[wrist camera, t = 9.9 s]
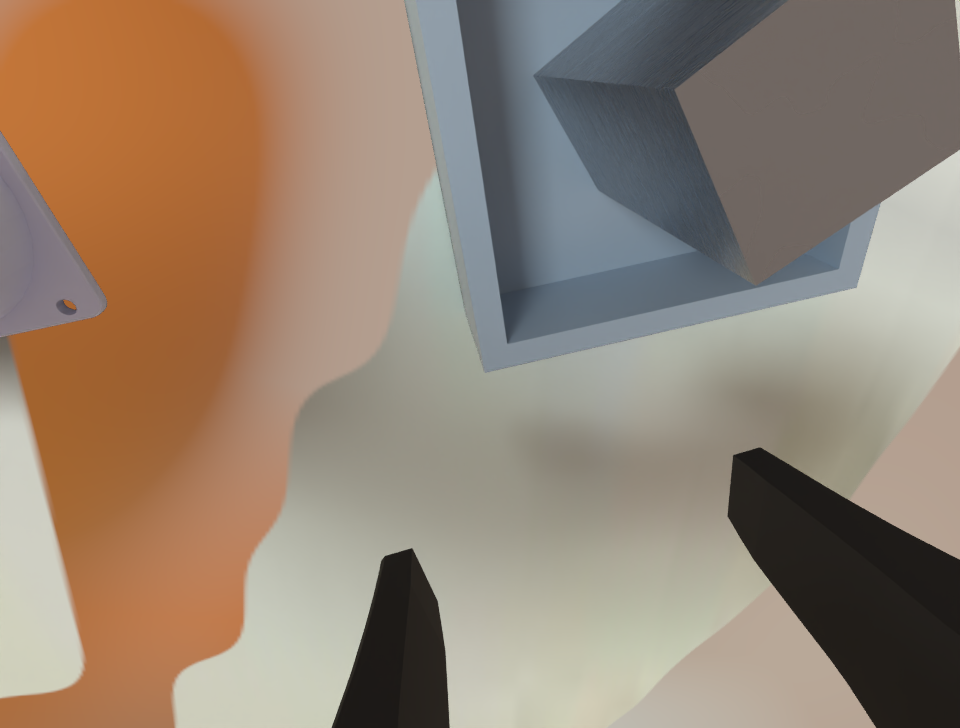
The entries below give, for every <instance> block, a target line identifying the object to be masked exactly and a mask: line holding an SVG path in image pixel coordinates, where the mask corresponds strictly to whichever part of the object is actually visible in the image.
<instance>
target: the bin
mask: <svg viewBox="0 0 960 728" xmlns="http://www.w3.org/2000/svg"><path fill="white" fill-rule="evenodd" d="M620 1H621V0H404V2H405V7H406V12H407V17H408V22H409V27H410V32H411V37H412V42H413V47H414V53H415V57H416V63H417V68H418V73H419V78H420V83H421V88H422V93H423V99H424V104H425V108H426V114H427V119H428V124H429V129H430V134H431V139H432V145H433V150H434V155H435V160H436V165H437V170H438V175H439V180H440V185H441V191H442V196H443V201H444V206H445V211H446V216H447V221H448V226H449V231H450V237H451V242H452V247H453V252H454V257H455V262H456V267H457V272H458V277H459V283H460V288H461V293H462V298H463V303H464V308H465V313H466V317H467V320H468V323H469V326H470V329H471V332H472V335H473V338H474V341H475V344H476V347H477V350H478V353H479V356H480V360H481V363H482V366H483V369H484V372H485V373H486V372H490V371H494V370H499V369H503V368H507V367H512V366H516V365H521V364H525V363H529V362H534V361H538V360H542V359H547V358H551V357H555V356H560V355H564V354H569V353H573V352H577V351H582V350H586V349H590V348H595V347H599V346H603V345H608V344H612V343H617V342H621V341H625V340H630V339H634V338H638V337H643V336H647V335H652V334H656V333H660V332H665V331H669V330H673V329H678V328H682V327H686V326H691V325H695V324H700V323H704V322H708V321H713V320H717V319H721V318H726V317H730V316H734V315H739V314H743V313H748V312H752V311H756V310H761V309H765V308H769V307H774V306H778V305H782V304H787V303H791V302H796V301H800V300H804V299H809V298H813V297H817V296H822V295H826V294H831V293H835V292H839V291H844V290H848V289H852V288H856V287H857V284H858V280H859V277H860V273H861V270H862V266H863V263H864V259H865V256H866V252H867V249H868V245H869V242H870V238H871V235H872V231H873V228H874V224H875V221H876V217H877V214H878V210H879V207H880V203H879V204H878V205H876V206H875V207H873V208H872V209H870V210H869V211H867V212H866V213H864V214H863V215H861V216H860V217H858V218H857V219H855V220H854V221H852V222H851V223H849V224H848V225H846V226H845V227H843V228H842V229H840V230H839V231H837V232H836V233H834V234H833V235H831V236H830V237H828V238H827V239H825V240H824V241H822V242H821V243H819V244H818V245H816V246H815V247H813V248H812V249H810V250H809V251H807V252H806V253H804V254H803V255H801V256H800V257H798V258H797V259H795V260H794V261H792V262H791V263H789V264H788V265H786V266H785V267H783V268H782V269H780V270H779V271H777V272H776V273H774V274H773V275H771V276H770V277H768V278H767V279H765V280H764V281H763V282H761V283H760V284H758V285H757V286H756V285H754V284H752V283H751V282H749V281H747V280H746V279H744V278H742V277H741V276H739V275H737V274H736V273H734V272H732V271H731V270H729V269H727V268H726V267H724V266H722V265H721V264H719V263H717V262H716V261H714V260H713V259H711V258H709V257H708V256H706V255H704V254H703V253H701V252H699V251H698V250H696V249H694V248H693V247H691V246H689V245H688V244H686V243H684V242H683V241H681V240H679V239H678V238H676V237H674V236H673V235H671V234H669V233H668V232H666V231H664V230H663V229H661V228H660V227H658V226H656V225H655V224H653V223H651V222H650V221H648V220H646V219H645V218H643V217H641V216H640V215H638V214H636V213H635V212H633V211H631V210H630V209H628V208H626V207H625V206H623V205H621V204H620V203H618V202H616V201H615V200H613V199H611V198H610V197H608V196H607V195H605V194H603V193H602V192H600V191H598V189H597V187H596V186H595V184H594V182H593V180H592V179H591V177H590V175H589V173H588V172H587V170H586V168H585V166H584V165H583V163H582V161H581V159H580V157H579V156H578V154H577V152H576V150H575V149H574V147H573V145H572V143H571V142H570V140H569V138H568V136H567V135H566V133H565V131H564V129H563V128H562V126H561V124H560V122H559V120H558V119H557V117H556V115H555V113H554V112H553V110H552V108H551V106H550V105H549V103H548V101H547V99H546V98H545V96H544V94H543V92H542V91H541V89H540V87H539V85H538V83H537V82H536V80H535V78H534V76H533V75H534V74H535V73H536V72H537V71H539V70H540V69H541V68H542V67H543V66H545V65H546V64H547V63H548V62H549V61H550V60H552V59H553V58H554V57H555V56H556V55H558V54H559V53H560V52H561V51H562V50H563V49H565V48H566V47H567V46H568V45H569V44H571V43H572V42H573V41H574V40H575V39H576V38H578V37H579V36H580V35H581V34H582V33H584V32H585V31H586V30H587V29H588V28H589V27H591V26H592V25H593V24H594V23H595V22H597V21H598V20H599V19H600V18H601V17H602V16H604V15H605V14H606V13H607V12H608V11H610V10H611V9H612V8H613V7H614V6H615V5H617V4H618V3H619V2H620Z"/></svg>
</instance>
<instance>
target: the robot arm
mask: <svg viewBox="0 0 960 728" xmlns="http://www.w3.org/2000/svg"><path fill="white" fill-rule="evenodd" d="M63 300H68V301H71V302H72V303H73V304H74V305H75V306H76V309H77V310H73V309H71V308H68V307H67V306H66V305H65V304H64V301H63ZM106 307H107V300H106V297H105V295H104V293H103V292H102V291H101V289H100V287H99V285H98V284H97V282H96V281H95V279H94V278H93V276H92V275H91V273H90V271H89V270H88V268H87V267H86V265H85V263H84V262H83V260H82V259H81V257H80V256H79V254H78V253H77V251H76V249H75V248H74V246H73V244H72V243H71V241H70V240H69V238H68V237H67V235H66V233H65V232H64V230H63V229H62V227H61V226H60V224H59V222H58V221H57V219H56V218H55V216H54V215H53V213H52V211H51V210H50V208H49V207H48V205H47V203H46V202H45V201H44V199H43V197H42V196H41V194H40V192H39V191H38V189H37V188H36V186H35V185H34V183H33V181H32V180H31V178H30V177H29V175H28V174H27V172H26V170H25V169H24V167H23V166H22V164H21V162H20V161H19V159H18V158H17V156H16V155H15V153H14V151H13V150H12V148H11V147H10V145H9V144H8V142H7V140H6V139H5V137H4V136H3V134H2V133H1V131H0V337H4V336H9V335H13V334H18V333H23V332H27V331H32V330H37V329H41V328H46V327H51V326H56V325H60V324H65V323H69V322H74V321H79V320H84V319H88V318H93V317H96V316H98V315H100V314H101V313H102V312H103V311H104V310H105V308H106ZM728 518H729V519H730V521H731V523H732V525H733V526H734V528H735V530H736V531H737V533H738V535H739V536H740V538H741V540H742V542H743V543H744V545H745V546H746V548H747V550H748V551H749V553H750V554H751V556H752V558H753V559H754V561H755V562H756V563H757V565H758V566H759V567H760V569H761V570H762V571H763V573H764V574H765V575H766V577H767V578H768V579H769V581H770V582H771V583H772V584H773V586H774V587H775V588H776V590H777V591H778V592H779V594H780V595H781V596H782V598H783V599H784V600H785V601H786V603H787V604H788V605H789V606H790V608H791V609H792V611H793V612H794V613H795V614H796V616H797V617H798V618H799V619H800V621H801V622H802V623H803V625H804V626H805V627H806V629H807V630H808V631H809V632H810V634H811V635H812V636H813V638H814V639H815V640H816V642H817V643H818V644H819V645H820V647H821V648H822V649H823V650H824V652H825V653H826V655H827V656H828V657H829V658H830V660H831V661H832V662H833V664H834V665H835V667H836V668H837V669H838V671H839V672H840V674H841V675H842V676H843V678H844V679H845V681H846V682H847V683H848V685H849V686H850V688H851V689H852V691H853V693H854V694H855V696H856V697H857V699H858V700H859V702H860V703H861V705H862V706H863V708H864V710H865V711H866V713H867V714H868V716H869V717H870V719H871V720H872V722H873V723H874V725H875V726H876V728H960V560H959V559H957V558H955V557H953V556H951V555H949V554H947V553H945V552H943V551H941V550H939V549H937V548H936V547H934V546H932V545H930V544H928V543H926V542H924V541H922V540H920V539H918V538H916V537H914V536H912V535H910V534H908V533H906V532H905V531H903V530H901V529H899V528H897V527H896V526H894V525H892V524H890V523H888V522H886V521H885V520H883V519H881V518H879V517H877V516H876V515H874V514H872V513H870V512H869V511H867V510H865V509H863V508H861V507H860V506H858V505H856V504H854V503H853V502H851V501H849V500H848V499H846V498H844V497H842V496H841V495H839V494H837V493H836V492H834V491H832V490H830V489H829V488H827V487H825V486H824V485H822V484H820V483H819V482H817V481H815V480H814V479H812V478H810V477H809V476H807V475H805V474H804V473H802V472H800V471H799V470H797V469H795V468H794V467H792V466H790V465H789V464H787V463H785V462H784V461H782V460H780V459H779V458H777V457H775V456H774V455H772V454H770V453H769V452H767V451H765V450H764V449H762V448H756V449H753V450H749V451H746V452H743V453H739V454H736V455H733V464H732V474H731V485H730V496H729V506H728ZM332 728H450V727H449V708H448V689H447V671H446V655H445V646H444V639H443V632H442V626H441V619H440V613H439V607H438V601H437V599H436V597H435V595H434V593H433V590H432V588H431V586H430V584H429V582H428V580H427V578H426V576H425V574H424V572H423V570H422V567H421V565H420V563H419V561H418V559H417V557H416V555H415V553H414V551H413V549H412V548H411V549H408V550H404V551H401V552H398V553H394V554H391V555H387V556H385V557H384V558H383V559H382V561H381V565H380V570H379V575H378V579H377V583H376V588H375V592H374V596H373V600H372V603H371V607H370V611H369V615H368V618H367V622H366V625H365V629H364V632H363V636H362V639H361V642H360V645H359V649H358V652H357V655H356V658H355V662H354V665H353V668H352V671H351V674H350V677H349V680H348V683H347V686H346V689H345V692H344V695H343V697H342V700H341V703H340V706H339V709H338V711H337V714H336V717H335V720H334V723H333V726H332Z"/></svg>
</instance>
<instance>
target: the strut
mask: <svg viewBox="0 0 960 728" xmlns="http://www.w3.org/2000/svg"><path fill="white" fill-rule="evenodd" d="M533 76H534V78H535V80H536V82H537V83H538V85H539V87H540V89H541V91H542V92H543V94H544V96H545V98H546V99H547V101H548V103H549V105H550V106H551V108H552V110H553V112H554V113H555V115H556V117H557V119H558V120H559V122H560V124H561V126H562V128H563V129H564V131H565V133H566V135H567V136H568V138H569V140H570V142H571V143H572V145H573V147H574V149H575V150H576V152H577V154H578V156H579V157H580V159H581V161H582V163H583V165H584V166H585V168H586V170H587V172H588V173H589V175H590V177H591V179H592V180H593V182H594V184H595V186H596V187H597V189H598V191H600V192H602V193H603V194H605V195H607V196H608V197H610V198H611V199H613V200H615V201H616V202H618V203H620V204H621V205H623V206H625V207H626V208H628V209H630V210H631V211H633V212H635V213H636V214H638V215H640V216H641V217H643V218H645V219H646V220H648V221H650V222H651V223H653V224H655V225H656V226H658V227H660V228H661V229H663V230H664V231H666V232H668V233H669V234H671V235H673V236H674V237H676V238H678V239H679V240H681V241H683V242H684V243H686V244H688V245H689V246H691V247H693V248H694V249H696V250H698V251H699V252H701V253H703V254H704V255H706V256H708V257H709V258H711V259H713V260H714V261H716V262H717V263H719V264H721V265H722V266H724V267H726V268H727V269H729V270H731V271H732V272H734V273H736V274H737V275H739V276H741V277H742V278H744V279H746V280H747V281H749V282H751V283H752V284H754V285H756V286H757V285H758V284H760V283H761V282H763V281H764V280H765V279H767V278H768V277H770V276H771V275H773V274H774V273H776V272H777V271H779V270H780V269H782V268H783V267H785V266H786V265H788V264H789V263H791V262H792V261H794V260H795V259H797V258H798V257H800V256H801V255H803V254H804V253H806V252H807V251H809V250H810V249H812V248H813V247H815V246H816V245H818V244H819V243H821V242H822V241H824V240H825V239H827V238H828V237H830V236H831V235H833V234H834V233H836V232H837V231H839V230H840V229H842V228H843V227H845V226H846V225H848V224H849V223H851V222H852V221H854V220H855V219H857V218H858V217H860V216H861V215H863V214H864V213H866V212H867V211H869V210H870V209H872V208H873V207H875V206H876V205H878V204H879V203H881V202H882V201H884V200H885V199H887V198H888V197H890V196H891V195H893V194H894V193H896V192H897V191H899V190H900V189H902V188H903V187H905V186H906V185H908V184H909V183H911V182H912V181H914V180H915V179H916V178H918V177H919V176H921V175H922V174H924V173H925V172H927V171H928V170H930V169H931V168H933V167H934V166H936V165H937V164H939V163H940V162H942V161H943V160H945V159H946V158H948V157H949V156H951V155H952V154H954V153H955V152H957V151H958V150H960V52H959V41H958V30H957V19H956V8H955V0H621V1H620V2H619V3H618V4H617V5H615V6H614V7H613V8H612V9H611V10H610V11H608V12H607V13H606V14H605V15H604V16H602V17H601V18H600V19H599V20H598V21H597V22H595V23H594V24H593V25H592V26H591V27H589V28H588V29H587V30H586V31H585V32H584V33H582V34H581V35H580V36H579V37H578V38H576V39H575V40H574V41H573V42H572V43H571V44H569V45H568V46H567V47H566V48H565V49H563V50H562V51H561V52H560V53H559V54H558V55H556V56H555V57H554V58H553V59H552V60H550V61H549V62H548V63H547V64H546V65H545V66H543V67H542V68H541V69H540V70H539V71H537V72H536V73H535V74H534V75H533Z"/></svg>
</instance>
